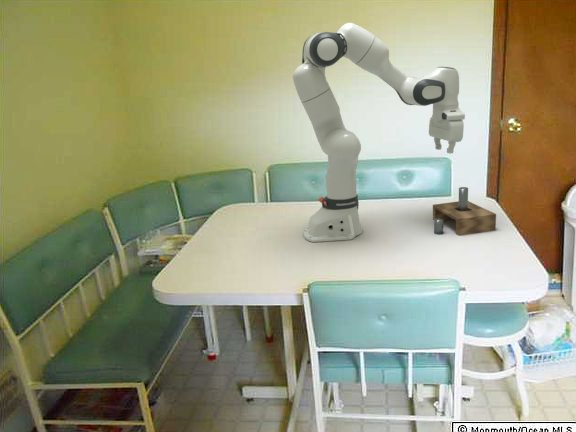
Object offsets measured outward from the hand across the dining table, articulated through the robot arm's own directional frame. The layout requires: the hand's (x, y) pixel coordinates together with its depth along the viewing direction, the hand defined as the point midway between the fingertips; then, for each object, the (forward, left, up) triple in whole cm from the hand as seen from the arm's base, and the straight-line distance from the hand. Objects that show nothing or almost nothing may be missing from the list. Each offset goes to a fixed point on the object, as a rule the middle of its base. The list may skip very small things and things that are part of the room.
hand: (444, 151), depth 180 cm
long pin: (+4, -8, -27) cm, 28 cm away
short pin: (-8, -13, -27) cm, 31 cm away
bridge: (+4, -8, -27) cm, 28 cm away
